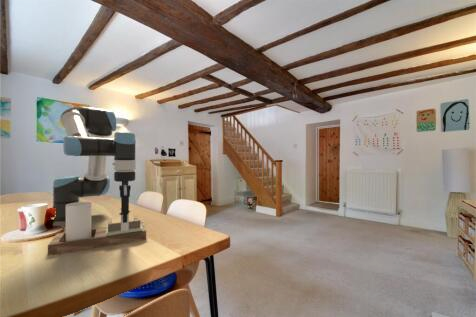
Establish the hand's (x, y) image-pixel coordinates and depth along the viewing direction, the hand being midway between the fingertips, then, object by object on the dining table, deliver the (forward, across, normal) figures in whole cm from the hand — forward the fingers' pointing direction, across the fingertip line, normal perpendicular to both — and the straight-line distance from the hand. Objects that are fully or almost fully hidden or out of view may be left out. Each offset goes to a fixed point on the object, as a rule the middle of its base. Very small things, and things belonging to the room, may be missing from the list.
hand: (124, 229), depth 87 cm
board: (+6, -15, -8) cm, 17 cm away
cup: (+6, -8, -16) cm, 19 cm away
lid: (+2, -8, 0) cm, 8 cm away
